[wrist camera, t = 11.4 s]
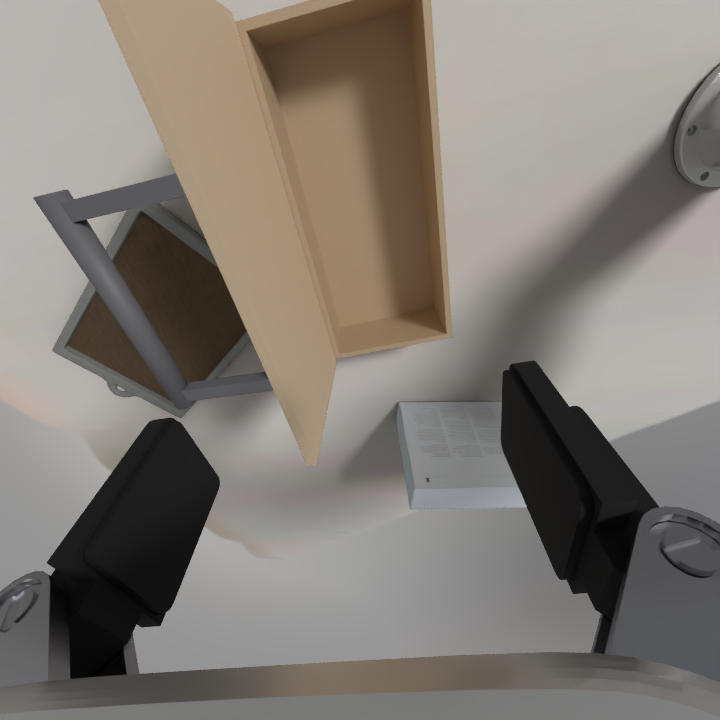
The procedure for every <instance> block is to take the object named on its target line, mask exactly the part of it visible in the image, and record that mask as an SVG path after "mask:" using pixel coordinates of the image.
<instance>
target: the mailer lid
mask: <svg viewBox="0 0 720 720" xmlns="http://www.w3.org/2000/svg"><path fill="white" fill-rule="evenodd" d="M98 1H99V3H100V5H101V7H102V10H103V12H104V14H105V16H106V18H107V21H108V23H109V25H110V27H111V30H112V32H113V34H114V36H115V38H116V41H117V43H118V45H119V47H120V50H121V52H122V54H123V56H124V58H125V61H126V63H127V65H128V67H129V70H130V72H131V74H132V76H133V78H134V81H135V83H136V85H137V87H138V90H139V92H140V94H141V96H142V98H143V101H144V103H145V105H146V107H147V110H148V112H149V114H150V116H151V118H152V121H153V123H154V125H155V127H156V130H157V132H158V134H159V136H160V139H161V141H162V143H163V145H164V147H165V150H166V152H167V154H168V156H169V159H170V161H171V163H172V165H173V167H174V170H175V172H176V174H174V175H170V176H166V177H162V178H158V179H154V180H150V181H146V182H142V183H138V184H134V185H130V186H126V187H122V188H118V189H114V190H110V191H106V192H102V193H98V194H94V195H90V196H86V197H82V198H78V199H73V197H72V196H71V194H70V192H69V191H68V190H63V191H58V192H54V193H50V194H46V195H42V196H38V197H34V200H35V201H36V203H37V204H38V206H39V207H40V209H41V210H42V212H43V213H44V215H45V216H46V217H47V219H48V220H49V222H50V223H51V225H52V226H53V228H54V229H55V231H56V232H57V234H58V235H59V237H60V238H61V239H62V241H63V242H64V244H65V245H66V247H67V248H68V250H69V251H70V253H71V254H72V256H73V257H74V259H75V260H76V261H77V263H78V264H79V266H80V267H81V269H82V270H83V272H84V273H85V275H86V276H87V278H88V279H89V281H90V282H91V283H92V285H93V286H94V288H95V289H96V291H97V292H98V294H99V295H100V297H101V298H102V300H103V301H104V303H105V304H106V305H107V307H108V308H109V310H110V311H111V313H112V314H113V316H114V317H115V319H116V320H117V322H118V323H119V325H120V326H121V327H122V329H123V330H124V332H125V333H126V335H127V336H128V338H129V339H130V341H131V342H132V344H133V345H134V347H135V348H136V349H137V351H138V352H139V354H140V355H141V357H142V358H143V360H144V361H145V363H146V364H147V366H148V367H149V369H150V370H151V371H152V373H153V374H154V376H155V377H156V379H157V380H158V382H159V383H160V385H161V386H162V388H163V389H164V390H165V392H166V393H167V395H168V396H169V398H170V399H171V401H172V402H173V404H174V405H175V407H176V408H177V409H178V410H183V409H186V408H189V407H190V406H192V405H193V404H194V403H195V402H196V401H197V400H201V399H209V398H217V397H225V396H233V395H241V394H248V393H256V392H264V391H272V390H274V392H275V394H276V397H277V399H278V401H279V403H280V405H281V408H282V410H283V412H284V414H285V417H286V419H287V421H288V423H289V425H290V428H291V430H292V432H293V434H294V437H295V439H296V441H297V443H298V445H299V448H300V450H301V452H302V454H303V457H304V459H305V461H306V463H307V465H308V466H311V465H317V461H318V455H319V450H320V445H321V440H322V435H323V430H324V425H325V420H326V415H327V410H328V405H329V399H330V394H331V389H332V384H333V379H334V374H335V369H336V364H337V363H336V359H335V356H334V352H333V349H332V346H331V342H330V339H329V336H328V332H327V329H326V326H325V322H324V319H323V316H322V312H321V309H320V306H319V302H318V299H317V296H316V292H315V289H314V285H313V282H312V279H311V275H310V272H309V269H308V265H307V262H306V259H305V255H304V252H303V249H302V245H301V242H300V239H299V235H298V232H297V229H296V225H295V222H294V218H293V215H292V212H291V208H290V205H289V202H288V198H287V195H286V192H285V188H284V185H283V182H282V178H281V175H280V172H279V168H278V165H277V162H276V158H275V155H274V151H273V148H272V145H271V141H270V138H269V135H268V131H267V128H266V125H265V121H264V118H263V115H262V111H261V108H260V105H259V101H258V98H257V95H256V91H255V88H254V84H253V81H252V78H251V74H250V71H249V68H248V64H247V61H246V58H245V54H244V51H243V48H242V44H241V41H240V38H239V34H238V31H237V28H236V24H235V21H234V17H233V14H232V12H231V11H230V10H228V9H227V8H225V7H224V6H223V5H221V4H220V3H219V2H217V1H216V0H98ZM183 196H187V199H188V201H189V203H190V205H191V207H192V210H193V212H194V214H195V216H196V219H197V221H198V223H199V225H200V227H201V230H202V232H203V234H204V236H205V239H206V241H207V243H208V245H209V248H210V250H211V252H212V254H213V256H214V259H215V261H216V263H217V265H218V268H219V270H220V272H221V274H222V276H223V279H224V281H225V283H226V285H227V288H228V290H229V292H230V294H231V296H232V299H233V301H234V303H235V305H236V308H237V310H238V312H239V314H240V316H241V319H242V321H243V323H244V325H245V328H246V330H247V332H248V334H249V336H250V339H251V341H252V343H253V345H254V348H255V350H256V352H257V354H258V356H259V359H260V361H261V363H262V365H263V368H264V370H265V372H261V373H254V374H247V375H239V376H232V377H225V378H218V379H210V380H203V381H196V382H187V380H186V379H185V377H184V376H183V374H182V372H181V371H180V369H179V368H178V366H177V364H176V363H175V361H174V360H173V358H172V356H171V355H170V353H169V352H168V350H167V348H166V347H165V345H164V343H163V342H162V340H161V339H160V337H159V335H158V334H157V332H156V331H155V329H154V327H153V326H152V324H151V323H150V321H149V319H148V318H147V316H146V315H145V313H144V311H143V310H142V308H141V306H140V305H139V303H138V302H137V300H136V298H135V297H134V295H133V294H132V292H131V290H130V289H129V287H128V286H127V284H126V282H125V281H124V279H123V278H122V276H121V274H120V273H119V271H118V270H117V268H116V266H115V265H114V263H113V261H112V260H111V258H110V257H109V255H108V253H107V252H106V250H105V249H104V247H103V245H102V244H101V242H100V241H99V239H98V237H97V236H96V234H95V233H94V231H93V229H92V228H91V226H90V224H89V223H88V221H87V220H86V219H90V218H94V217H98V216H103V215H107V214H111V213H115V212H120V211H124V210H128V209H132V208H136V207H141V206H145V205H149V204H153V203H158V202H162V201H166V200H170V199H174V198H179V197H183Z"/></svg>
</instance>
